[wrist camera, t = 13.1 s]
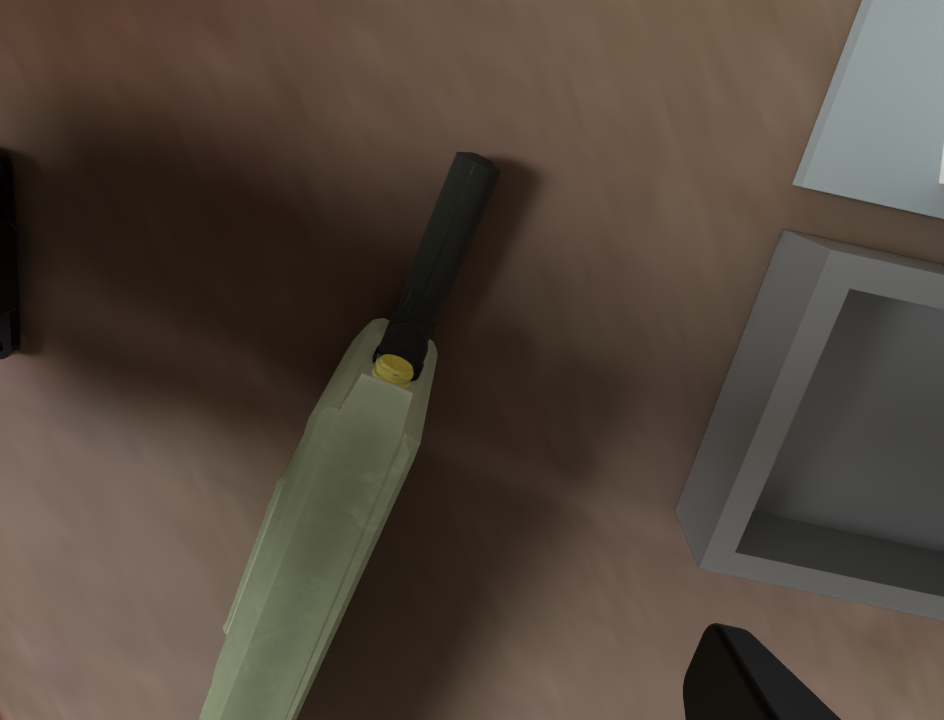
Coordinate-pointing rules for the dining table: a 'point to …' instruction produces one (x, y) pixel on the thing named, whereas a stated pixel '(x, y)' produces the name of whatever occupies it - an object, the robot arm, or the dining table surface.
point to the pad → (884, 111)
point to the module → (942, 169)
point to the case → (830, 433)
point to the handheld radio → (343, 479)
